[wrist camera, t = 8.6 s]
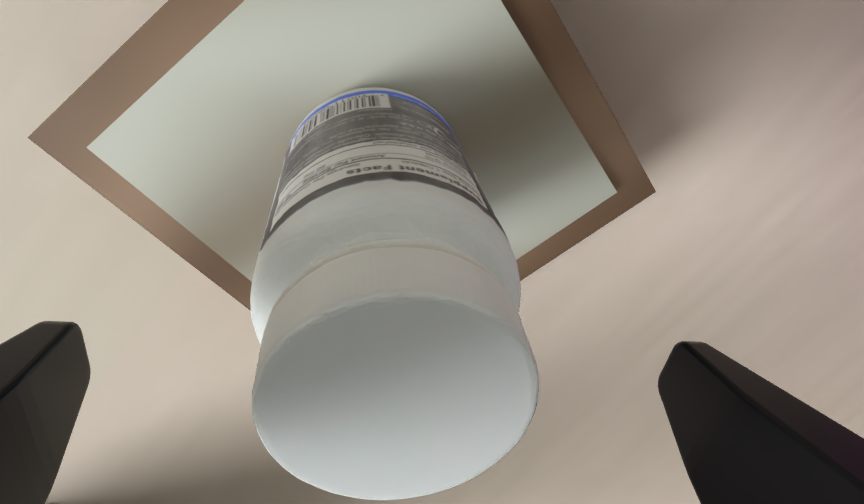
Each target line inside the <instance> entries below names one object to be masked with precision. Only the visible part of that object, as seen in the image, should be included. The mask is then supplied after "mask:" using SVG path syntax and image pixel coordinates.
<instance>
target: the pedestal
mask: <svg viewBox="0 0 864 504" xmlns="http://www.w3.org/2000/svg"><path fill="white" fill-rule="evenodd" d="M370 87H379V88H388V89H393V90H397V91H401V92H404V93H407V94H410V95H412V96H414V97H416V98H418V99H420V100H422V101H424V102H425V103H427V104H428V105H430V106H431V107H432V108H434V109H435V110H436V111H437V112H438V113H439V114H440V115H441V116H442V117H443V118H444V120H445V121H446V122H447V123H448V125H449V126H450V128H451V129H452V131H453V133H454V134H455V136H456V138H457V140H458V142H459V144H460V146H461V148H462V150H463V152H464V154H465V156H466V158H467V160H468V162H469V164H470V166H471V169H472V170H473V171H474V173H475V175H476V177H477V179H478V182H479V184H480V186H481V188H482V191H483V193H484V195H485V197H486V199H487V200H488V203H489V204H490V205H491V208H492V210H493V212H494V214H495V216H496V218H497V219H498V221H499V223H500V224H501V226H502V228H503V230H504V232H505V234H506V236H507V238H508V240H509V243H510V245H511V248H512V251H513V253H514V256H515V259H516V262H517V265H518V272H519V278H520V281H521V280H522V279H524V278H525V277H527V276H528V275H530V274H531V273H533V272H534V271H536V270H538V269H539V268H541V267H542V266H544V265H545V264H547V263H548V262H550V261H551V260H553V259H554V258H556V257H557V256H559V255H560V254H562V253H563V252H565V251H566V250H568V249H569V248H571V247H573V246H574V245H576V244H577V243H579V242H580V241H582V240H583V239H585V238H586V237H588V236H589V235H591V234H592V233H594V232H595V231H597V230H598V229H600V228H601V227H603V226H604V225H606V224H608V223H609V222H611V221H612V220H614V219H615V218H617V217H618V216H620V215H621V214H623V213H624V212H626V211H627V210H629V209H630V208H632V207H633V206H635V205H636V204H638V203H639V202H641V201H643V200H644V199H646V198H647V197H649V196H650V195H652V194H653V193H655V192H656V191H655V189H654V187H653V186H652V184H651V182H650V180H649V178H648V177H647V175H646V173H645V171H644V169H643V168H642V166H641V164H640V162H639V160H638V159H637V157H636V155H635V153H634V151H633V150H632V148H631V146H630V144H629V142H628V141H627V139H626V137H625V135H624V133H623V132H622V130H621V128H620V126H619V124H618V123H617V121H616V119H615V117H614V115H613V114H612V112H611V110H610V108H609V106H608V105H607V103H606V101H605V99H604V97H603V95H602V94H601V92H600V90H599V88H598V86H597V85H596V83H595V81H594V79H593V77H592V76H591V74H590V72H589V70H588V68H587V67H586V65H585V63H584V61H583V59H582V58H581V56H580V54H579V52H578V50H577V49H576V47H575V45H574V43H573V41H572V40H571V38H570V36H569V34H568V32H567V31H566V29H565V27H564V25H563V23H562V22H561V20H560V18H559V16H558V14H557V13H556V11H555V9H554V7H553V5H552V4H551V2H550V0H169V1H167V2H166V3H165V4H164V5H163V6H162V7H161V8H160V9H159V10H158V11H157V12H156V13H155V14H154V15H153V16H152V17H151V18H150V19H149V20H148V21H147V22H146V23H145V24H144V25H143V26H142V27H141V28H140V29H139V30H138V31H137V32H136V33H135V34H134V35H133V36H132V37H131V38H129V39H128V40H127V41H126V42H125V43H124V44H123V45H122V46H121V47H120V48H119V49H118V50H117V51H116V52H115V53H114V54H113V55H112V56H111V57H110V58H109V59H108V60H107V61H106V62H105V63H104V64H103V65H102V66H101V67H100V68H99V69H98V70H97V71H96V72H95V73H94V74H93V75H92V76H90V77H89V78H88V79H87V80H86V81H85V82H84V83H83V84H82V85H81V86H80V87H79V88H78V89H77V90H76V91H75V92H74V93H73V94H72V95H71V96H70V97H69V98H68V99H67V100H66V101H65V102H64V103H63V104H62V105H61V106H60V107H59V108H58V109H57V110H56V111H55V112H54V113H52V114H51V115H50V116H49V117H48V118H47V119H46V120H45V121H44V122H43V123H42V124H41V125H40V126H39V127H38V128H37V129H36V130H35V131H34V132H33V133H32V134H31V135H30V136H29V137H28V138H29V139H30V140H31V141H33V142H34V143H35V144H36V145H38V146H39V147H40V148H42V149H43V150H44V151H45V152H47V153H48V154H49V155H51V156H52V157H53V158H54V159H56V160H57V161H58V162H60V163H61V164H62V165H63V166H65V167H66V168H67V169H69V170H70V171H71V172H73V173H74V174H75V175H76V176H78V177H79V178H80V179H82V180H83V181H84V182H85V183H87V184H88V185H89V186H91V187H92V188H93V189H94V190H96V191H97V192H98V193H100V194H101V195H102V196H103V197H105V198H106V199H107V200H109V201H110V202H111V203H112V204H114V205H115V206H116V207H118V208H119V209H120V210H121V211H123V212H124V213H125V214H127V215H128V216H129V217H131V218H132V219H133V220H134V221H136V222H137V223H138V224H140V225H141V226H142V227H143V228H145V229H146V230H147V231H149V232H150V233H151V234H152V235H154V236H155V237H156V238H158V239H159V240H160V241H161V242H163V243H164V244H165V245H167V246H168V247H169V248H170V249H172V250H173V251H174V252H176V253H177V254H178V255H180V256H181V257H182V258H183V259H185V260H186V261H187V262H189V263H190V264H191V265H192V266H194V267H195V268H196V269H198V270H199V271H200V272H201V273H203V274H204V275H205V276H207V277H208V278H209V279H210V280H212V281H213V282H214V283H216V284H217V285H218V286H219V287H221V288H222V289H223V290H225V291H226V292H227V293H229V294H230V295H231V296H232V297H234V298H235V299H236V300H238V301H239V302H240V303H241V304H243V305H244V306H245V307H247V308H248V309H249V310H250V311H251V305H250V295H251V286H252V279H253V275H254V271H255V266H256V262H257V259H258V253H259V250H260V246H261V243H262V240H263V236H264V232H265V229H266V225H267V222H268V219H269V215H270V211H271V208H272V204H273V200H274V197H275V193H276V189H277V186H278V182H279V178H280V175H281V171H282V168H283V164H284V159H285V153H286V151H287V149H288V147H289V144H290V141H291V139H292V137H293V135H294V133H295V132H296V130H297V128H298V127H299V125H300V124H301V123H302V121H303V120H304V119H305V117H306V116H307V115H308V114H309V113H310V112H311V111H312V110H314V109H315V108H316V107H317V106H318V105H320V104H321V103H323V102H324V101H326V100H328V99H330V98H332V97H334V96H336V95H338V94H341V93H343V92H346V91H350V90H353V89H358V88H370Z"/></svg>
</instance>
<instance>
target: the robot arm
mask: <svg viewBox="0 0 864 504" xmlns="http://www.w3.org/2000/svg"><path fill="white" fill-rule="evenodd" d="M89 380H90V364H89V360H88V356H87V352H86V347H85V343H84V339H83V335H82V331H81V329H80V327H79V326H78V325H77V324H76V323H74V322H60V321H44V322H40V323H38V324H36V325H34V326H32V327H30V328H29V329H27V330H25V331H23V332H22V333H20V334H18V335H16V336H14V337H13V338H11V339H9V340H7V341H5V342H4V343H2V344H0V504H45V502H46V500H47V498H48V496H49V494H50V491H51V489H52V487H53V484H54V481H55V479H56V476H57V473H58V471H59V468H60V465H61V462H62V459H63V456H64V453H65V450H66V448H67V445H68V442H69V439H70V436H71V433H72V430H73V427H74V425H75V422H76V419H77V416H78V413H79V410H80V407H81V404H82V402H83V399H84V396H85V393H86V390H87V387H88V384H89ZM658 389H659V393H660V396H661V399H662V402H663V405H664V408H665V411H666V413H667V416H668V419H669V422H670V425H671V428H672V431H673V434H674V437H675V439H676V442H677V445H678V448H679V451H680V454H681V457H682V460H683V462H684V465H685V468H686V470H687V473H688V476H689V478H690V480H691V483H692V485H693V487H694V490H695V492H696V494H697V496H698V499H699V501H700V503H701V504H864V439H863V438H862V437H860V436H858V435H857V434H855V433H854V432H852V431H850V430H849V429H847V428H845V427H844V426H842V425H840V424H839V423H837V422H835V421H834V420H832V419H830V418H829V417H827V416H825V415H824V414H822V413H820V412H819V411H817V410H815V409H814V408H812V407H810V406H809V405H807V404H805V403H804V402H802V401H801V400H799V399H797V398H796V397H794V396H792V395H791V394H789V393H787V392H786V391H784V390H782V389H781V388H779V387H777V386H776V385H774V384H772V383H771V382H769V381H767V380H766V379H764V378H762V377H761V376H759V375H757V374H756V373H754V372H752V371H751V370H749V369H748V368H746V367H744V366H743V365H741V364H739V363H738V362H736V361H734V360H733V359H731V358H729V357H728V356H726V355H724V354H723V353H721V352H719V351H718V350H716V349H714V348H713V347H711V346H709V345H708V344H706V343H703V342H691V341H682V342H679V343H677V344H676V345H675V346H674V348H673V350H672V352H671V354H670V356H669V358H668V360H667V362H666V364H665V366H664V368H663V370H662V372H661V374H660V376H659V380H658Z"/></svg>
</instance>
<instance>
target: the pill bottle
mask: <svg viewBox="0 0 864 504" xmlns="http://www.w3.org/2000/svg"><path fill="white" fill-rule="evenodd" d="M520 296H521V289H520V278H519V272H518V265H517V262H516V259H515V256H514V253H513V251H512V248H511V245H510V243H509V240H508V238H507V236H506V234H505V232H504V230H503V228H502V226H501V224H500V223H499V221H498V219H497V218H496V216H495V214H494V212H493V210H492V208H491V205H490V204H489V203H488V200H487V199H486V197H485V195H484V193H483V191H482V188H481V186H480V184H479V182H478V179H477V177H476V175H475V173H474V171H473V170H472V169H471V166H470V164H469V162H468V160H467V158H466V156H465V154H464V152H463V150H462V148H461V146H460V144H459V142H458V140H457V138H456V136H455V134H454V133H453V131H452V129H451V128H450V126H449V125H448V123H447V122H446V121H445V120H444V118H443V117H442V116H441V115H440V114H439V113H438V112H437V111H436V110H435V109H434V108H432V107H431V106H430V105H428V104H427V103H425V102H424V101H422V100H420V99H418V98H416V97H414V96H412V95H410V94H407V93H404V92H401V91H397V90H393V89H388V88H379V87H370V88H358V89H353V90H350V91H346V92H343V93H341V94H338V95H336V96H334V97H332V98H330V99H328V100H326V101H324V102H323V103H321V104H320V105H318V106H317V107H316V108H315V109H314V110H312V111H311V112H310V113H309V114H308V115H307V116H306V117H305V119H304V120H303V121H302V123H301V124H300V125H299V127H298V128H297V130H296V132H295V133H294V135H293V137H292V139H291V141H290V144H289V147H288V149H287V151H286V153H285V159H284V164H283V168H282V171H281V175H280V178H279V182H278V186H277V189H276V193H275V197H274V200H273V204H272V208H271V211H270V215H269V219H268V222H267V225H266V229H265V232H264V236H263V240H262V243H261V246H260V250H259V253H258V259H257V262H256V266H255V271H254V275H253V279H252V286H251V295H250V305H251V316H252V322H253V325H254V329H255V332H256V335H257V338H258V340H259V342H260V345H261V347H260V353H259V359H258V364H257V370H256V375H255V380H254V385H253V391H252V413H253V419H254V422H255V426H256V429H257V432H258V435H259V437H260V439H261V441H262V442H263V444H264V446H265V448H266V449H267V451H268V452H269V453H270V454H271V456H272V457H273V458H274V459H275V460H276V461H277V462H278V463H279V464H280V465H281V466H282V467H283V468H284V469H286V470H287V471H288V472H289V473H291V474H292V475H293V476H295V477H297V478H298V479H300V480H302V481H304V482H306V483H308V484H311V485H313V486H315V487H317V488H320V489H322V490H325V491H328V492H330V493H334V494H338V495H343V496H347V497H353V498H359V499H367V500H393V499H406V498H413V497H419V496H425V495H429V494H433V493H437V492H440V491H443V490H447V489H450V488H453V487H455V486H457V485H460V484H462V483H464V482H466V481H468V480H470V479H472V478H474V477H476V476H478V475H479V474H481V473H482V472H484V471H485V470H486V469H488V468H489V467H491V466H492V465H493V464H495V463H496V462H498V461H499V460H500V459H501V458H503V457H504V456H505V455H506V454H507V453H508V452H509V451H510V450H511V449H512V448H513V447H514V446H515V445H516V444H517V442H518V441H519V440H520V438H521V437H522V436H523V435H524V433H525V431H526V429H527V427H528V425H529V423H530V421H531V419H532V417H533V415H534V412H535V409H536V406H537V398H538V392H539V378H538V370H537V365H536V361H535V358H534V355H533V352H532V350H531V347H530V344H529V341H528V339H527V336H526V334H525V331H524V329H523V326H522V322H521V319H520V316H519V314H518V312H519V307H520Z"/></svg>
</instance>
